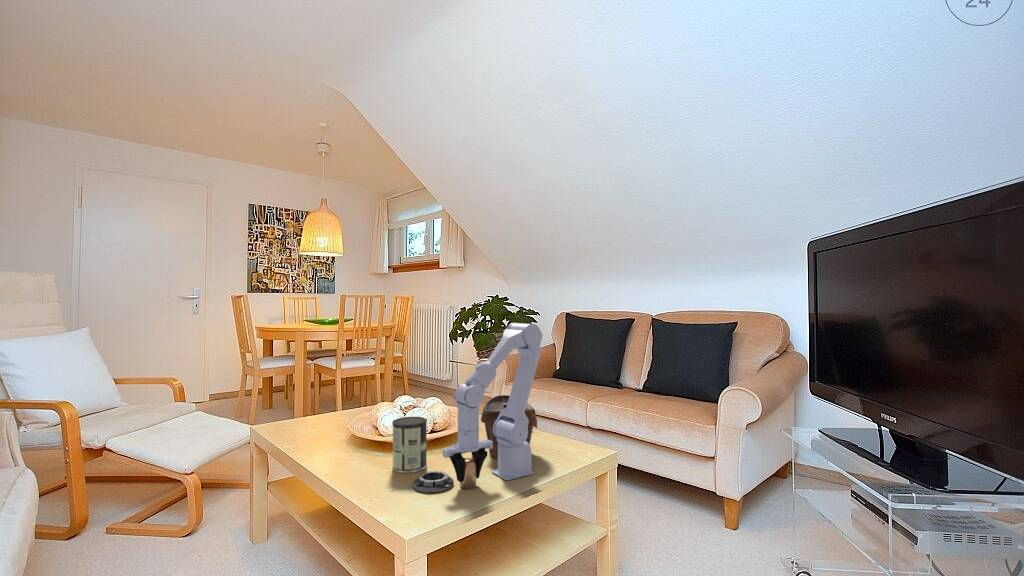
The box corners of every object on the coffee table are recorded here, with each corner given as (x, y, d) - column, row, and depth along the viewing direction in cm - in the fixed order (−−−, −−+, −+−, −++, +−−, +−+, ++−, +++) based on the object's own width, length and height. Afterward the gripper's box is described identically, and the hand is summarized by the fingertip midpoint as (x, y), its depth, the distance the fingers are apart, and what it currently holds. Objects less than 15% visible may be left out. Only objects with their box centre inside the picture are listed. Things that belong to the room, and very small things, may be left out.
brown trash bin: (518, 468, 142) (518, 407, 143) (468, 455, 154) (469, 399, 155) (549, 453, 157) (549, 399, 157) (502, 443, 169) (502, 392, 169)
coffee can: (413, 459, 151) (413, 414, 151) (433, 466, 144) (433, 420, 144) (385, 467, 143) (385, 420, 143) (405, 476, 136) (405, 426, 137)
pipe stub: (471, 482, 132) (471, 456, 132) (479, 487, 128) (479, 461, 128) (457, 485, 129) (457, 459, 129) (464, 490, 126) (465, 464, 126)
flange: (442, 474, 137) (442, 466, 137) (460, 487, 128) (460, 478, 128) (406, 483, 131) (406, 474, 131) (422, 496, 122) (422, 487, 122)
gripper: (451, 436, 122) (450, 489, 121) (498, 427, 130) (498, 478, 130) (439, 430, 128) (438, 481, 127) (485, 422, 136) (485, 470, 135)
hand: (468, 479), depth 129 cm, fingers closed on pipe stub, 4 cm apart
